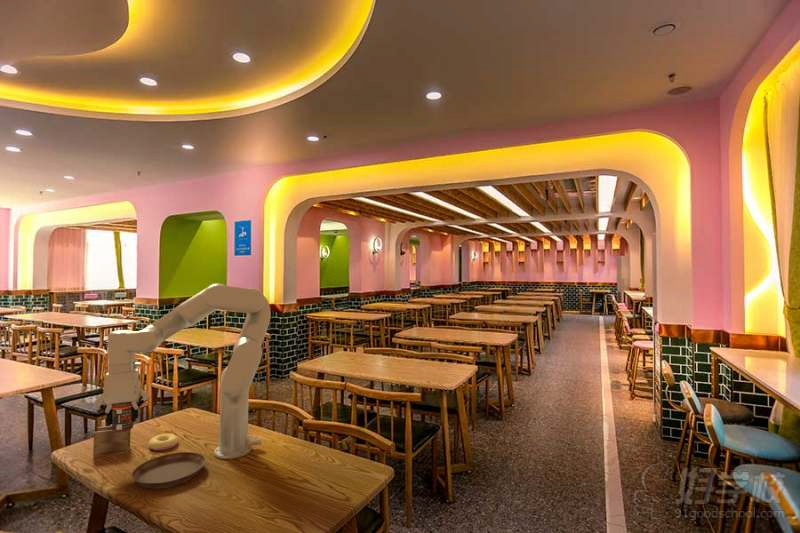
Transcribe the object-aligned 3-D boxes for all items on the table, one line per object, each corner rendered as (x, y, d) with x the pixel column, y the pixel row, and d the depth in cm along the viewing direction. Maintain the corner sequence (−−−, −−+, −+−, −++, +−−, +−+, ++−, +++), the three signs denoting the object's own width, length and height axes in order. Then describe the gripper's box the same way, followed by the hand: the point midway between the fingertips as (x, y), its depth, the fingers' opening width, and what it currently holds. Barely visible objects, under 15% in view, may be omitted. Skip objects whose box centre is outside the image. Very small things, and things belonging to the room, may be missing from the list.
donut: (153, 459, 147) (181, 448, 153) (152, 448, 146) (180, 437, 152) (146, 446, 154) (173, 436, 161) (145, 435, 153) (172, 425, 160)
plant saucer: (116, 483, 127) (116, 473, 127) (176, 456, 146) (176, 446, 146) (162, 500, 119) (162, 488, 119) (219, 468, 138) (219, 458, 138)
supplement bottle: (122, 433, 133) (122, 399, 133) (107, 432, 134) (106, 397, 134) (138, 426, 139) (137, 393, 139) (123, 425, 140) (122, 392, 140)
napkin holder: (130, 447, 151) (130, 423, 152) (127, 452, 147) (127, 428, 147) (97, 451, 148) (98, 427, 148) (93, 457, 143) (93, 432, 143)
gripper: (154, 362, 143) (154, 414, 143) (94, 368, 137) (94, 422, 137) (150, 367, 136) (151, 422, 136) (86, 373, 130) (87, 430, 130)
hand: (123, 421), depth 137 cm, fingers closed on supplement bottle, 6 cm apart
